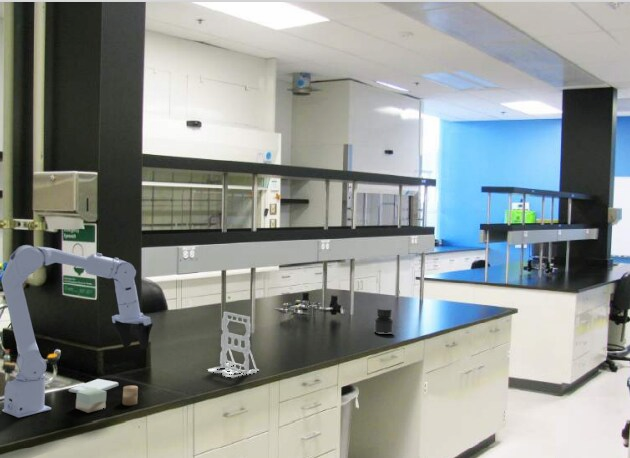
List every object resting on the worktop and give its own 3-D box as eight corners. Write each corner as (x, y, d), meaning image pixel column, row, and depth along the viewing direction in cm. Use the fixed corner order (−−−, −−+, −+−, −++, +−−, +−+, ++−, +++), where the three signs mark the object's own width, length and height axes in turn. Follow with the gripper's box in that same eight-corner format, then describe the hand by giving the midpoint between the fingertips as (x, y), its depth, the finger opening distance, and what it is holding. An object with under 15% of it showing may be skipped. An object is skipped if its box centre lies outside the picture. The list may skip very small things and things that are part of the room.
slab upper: (89, 404, 170) (89, 395, 170) (76, 400, 173) (76, 391, 173) (106, 400, 175) (106, 391, 175) (93, 396, 178) (93, 387, 178)
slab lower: (88, 413, 170) (88, 404, 170) (75, 409, 173) (76, 400, 173) (105, 409, 175) (105, 400, 175) (92, 405, 178) (93, 396, 178)
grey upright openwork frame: (203, 370, 220) (206, 313, 220) (233, 364, 231) (235, 309, 230) (231, 379, 211) (234, 319, 210) (261, 372, 221) (263, 315, 221)
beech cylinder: (128, 406, 177) (129, 390, 177) (119, 403, 180) (120, 387, 179) (140, 403, 181) (140, 387, 181) (130, 400, 183) (131, 384, 183)
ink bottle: (393, 332, 308) (394, 308, 308) (393, 336, 300) (395, 311, 299) (373, 331, 309) (374, 307, 309) (373, 334, 301) (374, 309, 300)
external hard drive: (118, 387, 197) (90, 397, 185) (97, 383, 200) (68, 393, 188) (118, 382, 197) (90, 392, 185) (97, 378, 200) (68, 387, 188)
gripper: (155, 298, 181) (163, 344, 183) (122, 297, 189) (130, 341, 191) (136, 305, 176) (144, 352, 177) (103, 304, 184) (111, 348, 185)
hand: (135, 347), depth 184 cm, fingers open, 7 cm apart
